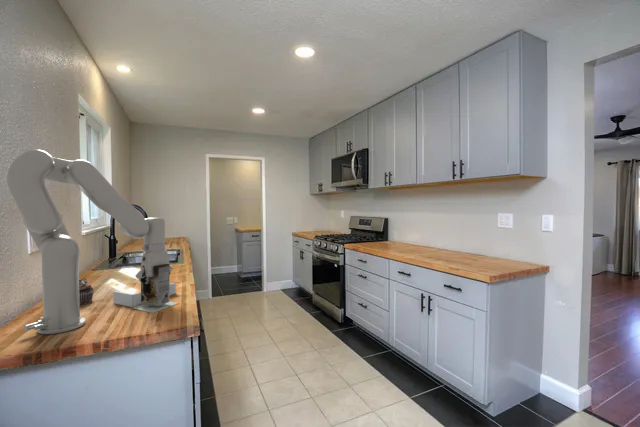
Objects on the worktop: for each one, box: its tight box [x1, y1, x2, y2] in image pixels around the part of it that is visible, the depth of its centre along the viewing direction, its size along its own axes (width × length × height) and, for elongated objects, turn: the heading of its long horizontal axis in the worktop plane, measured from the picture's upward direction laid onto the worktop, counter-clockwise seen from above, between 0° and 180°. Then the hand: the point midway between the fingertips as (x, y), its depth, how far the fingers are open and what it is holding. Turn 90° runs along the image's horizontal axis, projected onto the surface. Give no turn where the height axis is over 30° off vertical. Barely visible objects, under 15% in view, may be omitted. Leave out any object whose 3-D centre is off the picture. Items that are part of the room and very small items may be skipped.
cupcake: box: [79, 277, 95, 306], centre depth 131 cm, size 10×10×10 cm
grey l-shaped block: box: [112, 282, 176, 308], centre depth 137 cm, size 21×12×5 cm, turn 156°
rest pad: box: [131, 300, 180, 314], centre depth 126 cm, size 12×12×1 cm
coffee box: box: [140, 263, 171, 306], centre depth 126 cm, size 9×6×16 cm
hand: (155, 290), depth 126 cm, fingers closed on coffee box, 6 cm apart
